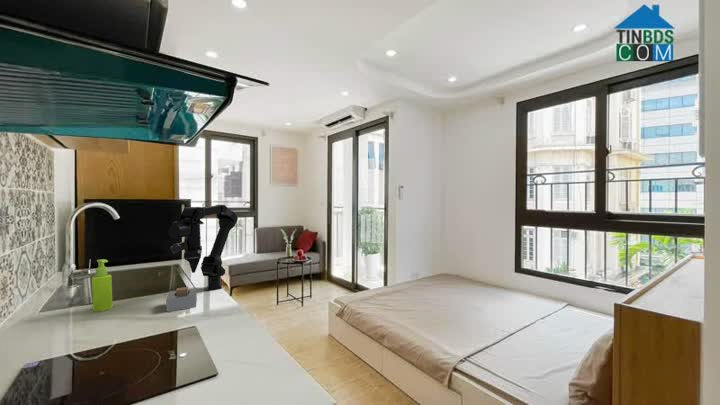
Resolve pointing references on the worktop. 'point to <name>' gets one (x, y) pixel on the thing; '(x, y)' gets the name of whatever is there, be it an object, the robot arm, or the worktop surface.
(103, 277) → the soap dispenser
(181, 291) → the tan rectangular block
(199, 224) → the robot arm
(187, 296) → the grey square socket block
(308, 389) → the worktop surface
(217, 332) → the worktop surface
